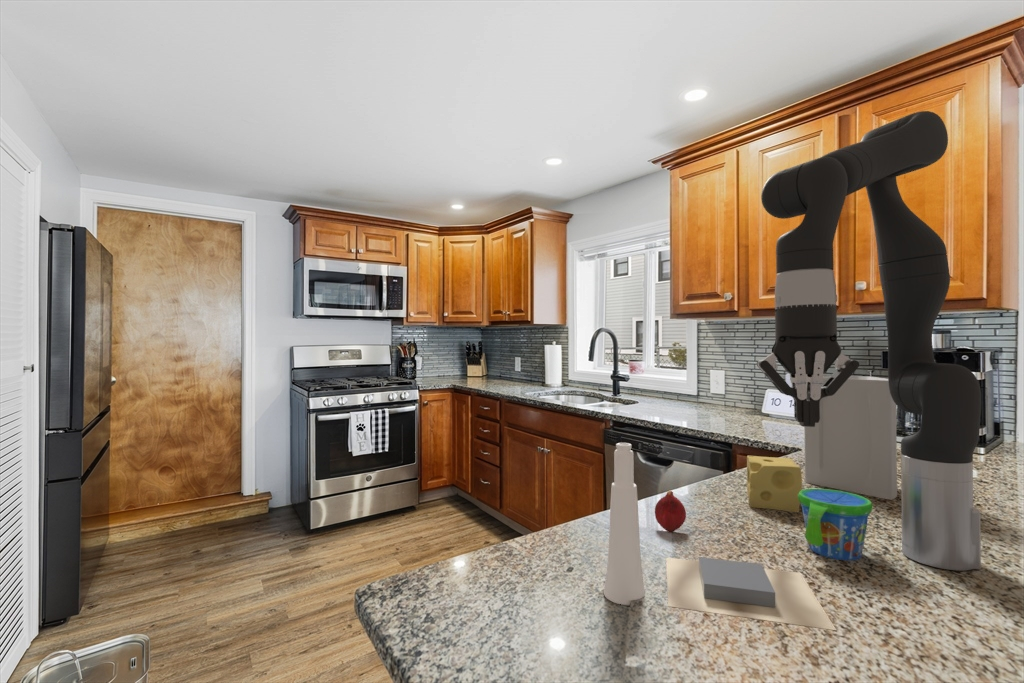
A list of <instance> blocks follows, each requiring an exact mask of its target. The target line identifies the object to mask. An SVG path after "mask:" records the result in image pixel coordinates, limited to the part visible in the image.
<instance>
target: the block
mask: <svg viewBox="0 0 1024 683" xmlns="http://www.w3.org/2000/svg"><path fill="white" fill-rule="evenodd" d="M698 561H699V573H700V579H701V584H702V589H703V595H704V598H708V599H716V600H723V601H730V602H738V603H745V604H753V605H760V606H767V607H775V591H774V589H773V587H772V585H771V583H770V581H769V579H768V576H767V574H766V572H765V570H764V569H765V568H764V565H763V564H762V563H755V562H747V561H737V560H727V559H719V558H710V557H700V556H699V557H698Z"/></svg>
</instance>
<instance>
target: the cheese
mask: <svg viewBox="0 0 1024 683" xmlns="http://www.w3.org/2000/svg"><path fill="white" fill-rule="evenodd" d="M746 472H747V473H746V475H747V476H746V487H747V488H746V492H747V493H746V494H747V498H748V505H749V506H748V507H749V508H754V509H764V510H765V509H766V510H767V509H768V510H774V511H776V510H777V511H783V512H790V513H799V512H800V505H801V503H800V501H799V499H798V494H799V492H800V491H801V490H803V488H802V487H803V476H802V468H801V467H800V466H799V465H798V464H796V463H795V461H794V459H793V458H787V457H774V456H773V457H772V456H770V457H769V456H760V455H759V456H757V455H747V456H746Z"/></svg>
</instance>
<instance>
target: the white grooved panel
mask: <svg viewBox="0 0 1024 683" xmlns="http://www.w3.org/2000/svg"><path fill="white" fill-rule="evenodd" d="M830 376H831V375H826V376H825V375H823V383H822V385H823V384H824V383H825V382H826V381H827V380H828V378H829V377H830ZM822 385H821V386H822ZM806 399H807V398H806ZM803 429H804V433H803V434H804V435H803V436H804V482H805V483H807V484H811V485H817V486H821V487H825V488H829V489H831V488H832V489H834V490H839V491H844V492H849V493H854V494H860V495H861V494H862V495H864V496H870V497H874V498H875V497H876V498H880V499H884V500H891V501H892V500H895V498H898V469H897V468H898V467H897V466H898V464H897V462H898V461H897V460H898V458H897V457H898V456H897V451H898V450H897V447H898V446H897V405H896V404H895V402H894V401H893V399H892V397H891V394H890V390H889V383H888V378H884V377H879V376H878V377H876V376H866V375H865V376H863V375H851V376H850V377H849V378H848V379H847V380H846V382H845V383H844V384H843V385H842V386H841V387H840V388H839V389H838V391H837V392H836V393H835V394H834V395H832V396H827V397H823V398H822V399H821V400H820V420H819V422H818V423H815V427H804V426H803Z"/></svg>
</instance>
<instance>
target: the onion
mask: <svg viewBox="0 0 1024 683" xmlns="http://www.w3.org/2000/svg"><path fill="white" fill-rule="evenodd" d="M685 508H686V507H685V506H684V504H683V503H682V501H681V500H680V499H679V498H677V497H676V496H674V491H672V490H668V491H667V493H666V494H665V496H663V497H661V498H660V499H659V500H658V501H657V503H656V504H655V507H654V516H655V519H656V522H657V523H658V524H659V525H660V527H661V528H663V530H665V531H666V532H668V531H669V532H668V533H673V532H675V531H677V530H678V529H680V528H681V527H682V526H683V525H684V523H685V522H686V518H687V512H686V509H685Z"/></svg>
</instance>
